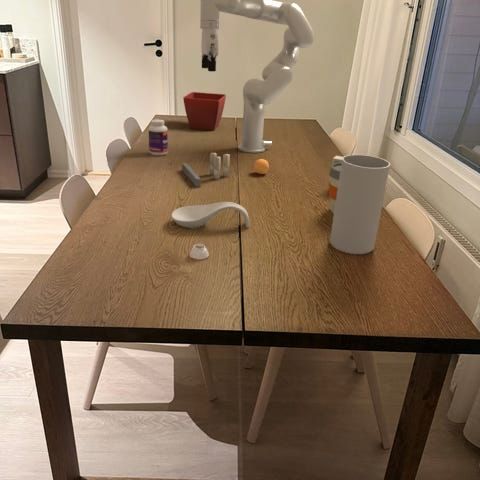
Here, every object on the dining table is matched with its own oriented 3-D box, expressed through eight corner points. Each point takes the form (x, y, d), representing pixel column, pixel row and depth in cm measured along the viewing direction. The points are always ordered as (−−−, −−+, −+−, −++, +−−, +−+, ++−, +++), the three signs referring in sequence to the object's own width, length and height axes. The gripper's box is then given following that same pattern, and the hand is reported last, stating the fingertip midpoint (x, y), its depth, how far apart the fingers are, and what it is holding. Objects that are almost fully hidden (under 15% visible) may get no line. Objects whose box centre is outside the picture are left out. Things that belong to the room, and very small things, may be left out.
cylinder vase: (365, 260, 133) (382, 171, 122) (322, 247, 138) (335, 161, 128) (379, 244, 142) (396, 160, 132) (339, 232, 148) (351, 152, 137)
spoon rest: (170, 232, 142) (170, 209, 139) (172, 216, 153) (171, 195, 150) (251, 233, 145) (252, 211, 142) (247, 218, 155) (248, 196, 152)
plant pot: (182, 129, 257) (182, 97, 250) (191, 122, 274) (192, 91, 267) (218, 133, 255) (219, 100, 247) (225, 125, 272) (226, 94, 264)
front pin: (227, 174, 193) (228, 153, 189) (229, 176, 191) (230, 155, 187) (221, 175, 192) (222, 154, 188) (223, 177, 190) (224, 155, 186)
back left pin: (218, 177, 189) (219, 156, 185) (220, 179, 187) (221, 157, 183) (212, 178, 188) (213, 156, 184) (214, 179, 186) (215, 158, 182)
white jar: (212, 256, 130) (198, 250, 133) (212, 246, 129) (199, 240, 131) (199, 262, 126) (185, 256, 129) (199, 252, 125) (185, 246, 128)
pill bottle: (166, 156, 210) (165, 123, 204) (147, 155, 210) (146, 122, 204) (169, 151, 218) (168, 119, 211) (151, 150, 218) (150, 118, 211)
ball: (264, 171, 200) (265, 156, 197) (270, 175, 195) (272, 161, 192) (251, 171, 198) (252, 157, 195) (256, 176, 193) (257, 161, 190)
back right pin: (214, 173, 193) (215, 152, 189) (216, 175, 191) (217, 154, 187) (208, 174, 192) (209, 152, 189) (210, 175, 190) (211, 154, 187)
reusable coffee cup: (317, 210, 164) (323, 166, 158) (337, 201, 172) (343, 160, 166) (349, 221, 156) (357, 176, 150) (369, 212, 165) (377, 169, 159)
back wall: (186, 170, 195) (186, 162, 194) (200, 186, 178) (200, 178, 177) (182, 170, 194) (182, 163, 193) (196, 187, 178) (196, 179, 176)
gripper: (224, 26, 191) (223, 72, 198) (212, 24, 205) (211, 67, 213) (206, 25, 188) (205, 72, 196) (195, 23, 203) (194, 67, 210)
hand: (208, 69), depth 204 cm, fingers open, 9 cm apart
